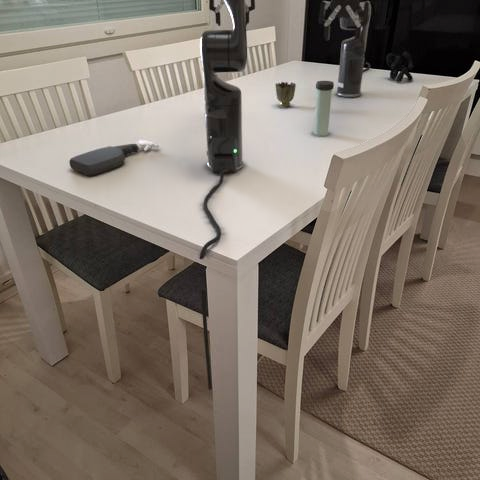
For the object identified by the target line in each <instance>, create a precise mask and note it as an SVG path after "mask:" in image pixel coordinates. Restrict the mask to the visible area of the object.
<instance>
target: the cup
mask: <svg viewBox="0 0 480 480" xmlns="http://www.w3.org/2000/svg"><path fill="white" fill-rule="evenodd" d="M296 87H297V85H296V83H295V82H290V83H289V82H288V81H285V82H284V81H281V82H278V83H275V95H276V99H277V101H278V102H279V106H281V107H283V108H286V107H289V106H290V105H291V103H290V102H292V101H293V100H294V97H295V94H296V93H295V92H296Z"/></svg>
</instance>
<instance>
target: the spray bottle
mask: <svg viewBox="0 0 480 480" xmlns="http://www.w3.org/2000/svg"><path fill="white" fill-rule="evenodd" d="M159 148H160V145H159V144H158V143H155V142H151V141H148V140H144V139H139V140H138V141H137V142H135V143H129V144H128V143H126V144H122V145H113V146H105V147H100V148H97V149H94V150H90V151H87V152H83V153H81V154H78V155H74V156H73V157H70V159H69V161H68V162H69V167H70V168H71V169H72V170H74V171H75V172H78V173H81V174H83V175H85V176H89V177H90V176H91V177H92V176H95V175H99V174H102V173H105V172H107V171H110V170H113V169H116V168H118V167H120V166H122V165H123V164H124V163H125V158H126V156H127V155H131V154H133V153H138V151H140V150H143V151H144V152H146V151H147V150H149V149H159Z"/></svg>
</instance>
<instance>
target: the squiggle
mask: <svg viewBox="0 0 480 480" xmlns="http://www.w3.org/2000/svg"><path fill="white" fill-rule="evenodd" d="M401 57H402V59H401ZM391 59H392V60H391ZM393 60H394V61H393ZM385 61H386V64H387V67H390V68H391V70H390V72H389V78H390V79H391V80H395V79H396V81H397V82H399V83H400V82H402V81H403V79H404V76H406V78H407V80H408V81H412V80H413V79H414V77H413V75H412V74H411V73H410V72H409V71H410V70H412V69H413V68H414V64H413V61H412V57H411V54H410V53H409V52H408V51H403V53H402V54H401V55H396V54H394V53H392V52H390V53H387V55H386V57H385ZM406 62H407V65H408V66H407V67H405V66H404V65H405V64H406ZM400 70H401V71H400Z"/></svg>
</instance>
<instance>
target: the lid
mask: <svg viewBox="0 0 480 480" xmlns="http://www.w3.org/2000/svg"><path fill="white" fill-rule="evenodd" d="M334 85H335V83H334V82H333V81H331V80H317V81H316V83H315V89H316V90H317V89H319V90H331V89H332V90H333V89H334V87H335V86H334Z"/></svg>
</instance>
